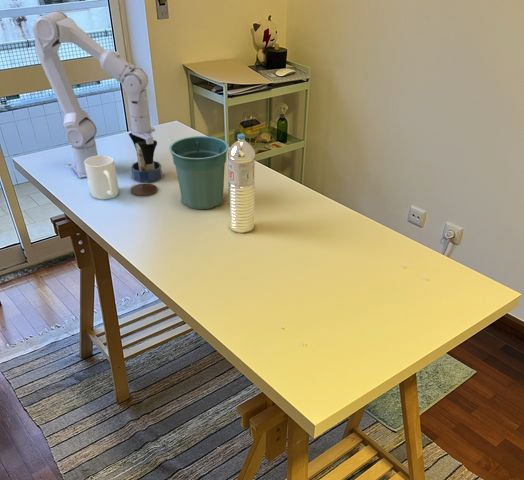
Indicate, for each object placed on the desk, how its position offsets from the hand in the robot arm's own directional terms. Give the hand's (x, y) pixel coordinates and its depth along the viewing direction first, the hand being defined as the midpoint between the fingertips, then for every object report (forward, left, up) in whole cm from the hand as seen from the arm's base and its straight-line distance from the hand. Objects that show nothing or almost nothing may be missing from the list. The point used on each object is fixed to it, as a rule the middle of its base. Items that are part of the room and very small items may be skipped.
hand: (145, 160), depth 169 cm
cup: (+8, -16, -6) cm, 18 cm away
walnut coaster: (+9, -5, -5) cm, 12 cm away
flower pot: (+24, +8, -6) cm, 26 cm away
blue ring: (0, 0, -5) cm, 5 cm away
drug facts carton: (0, 0, -6) cm, 6 cm away
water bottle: (+44, +11, -6) cm, 46 cm away
